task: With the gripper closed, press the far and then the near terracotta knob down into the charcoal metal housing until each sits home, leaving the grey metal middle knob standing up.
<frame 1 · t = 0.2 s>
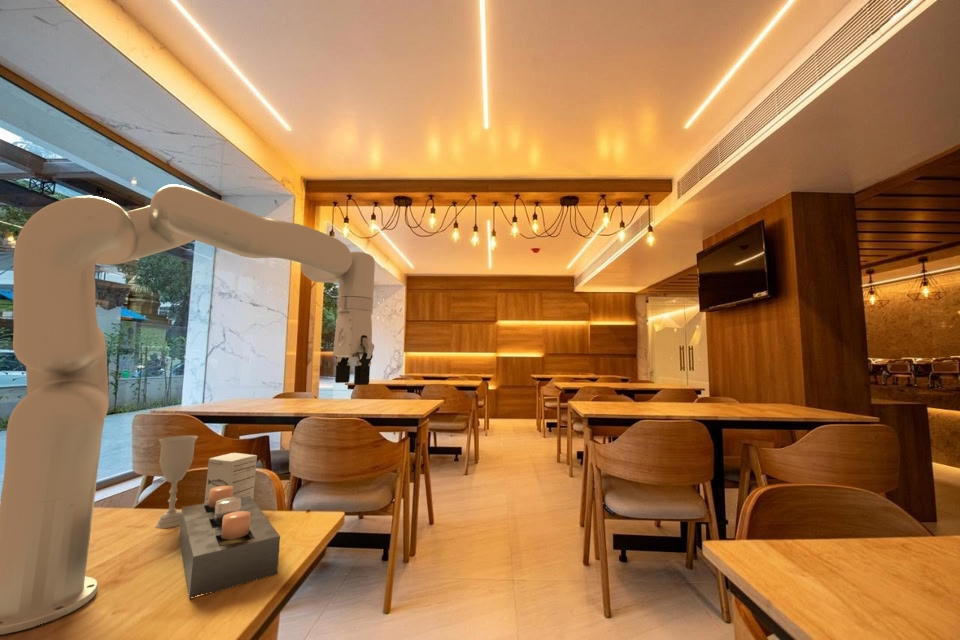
hand: (351, 383, 88), 31 cm above the table, tool pointing down, fingers open, 9 cm apart
far knob: (221, 496, 81), point 8 cm above the table, slide at 0.0 cm
knob housing: (223, 554, 73), on the table
chalice: (170, 524, 86), on the table
supplement box: (228, 512, 94), on the table
middle knob: (227, 509, 74), point 8 cm above the table, slide at 0.0 cm
near knob: (236, 524, 67), point 8 cm above the table, slide at 0.0 cm
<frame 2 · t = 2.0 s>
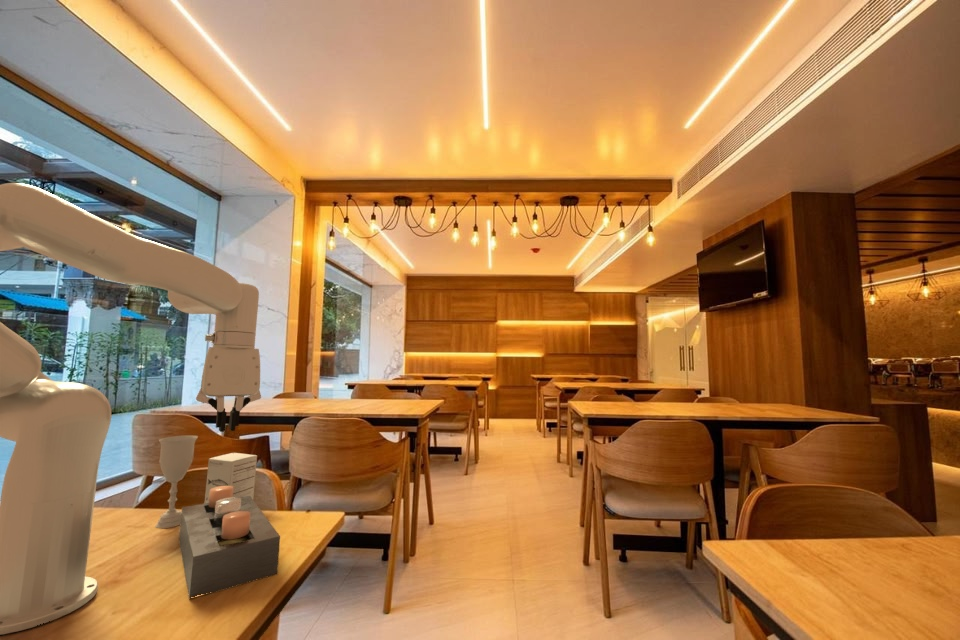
hand: (226, 430, 82), 21 cm above the table, tool pointing down, fingers closed
nothing on the table moved.
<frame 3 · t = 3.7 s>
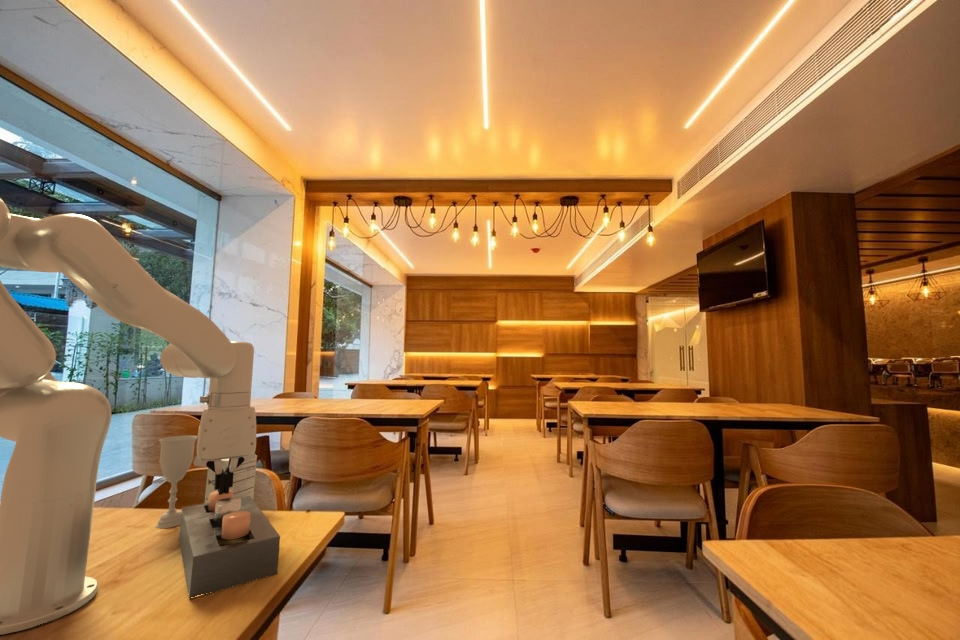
hand: (223, 492, 81), 9 cm above the table, tool pointing down, fingers closed
far knob: (220, 500, 81), point 7 cm above the table, slide at 0.8 cm, touching gripper
everything else where it was.
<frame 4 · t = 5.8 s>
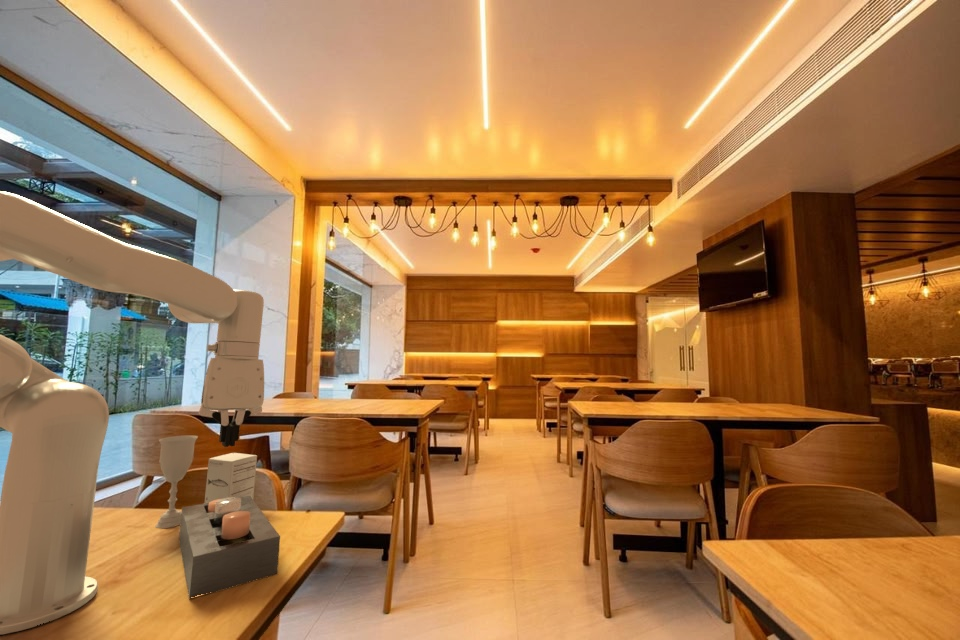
hand: (228, 445, 78), 19 cm above the table, tool pointing down, fingers closed
far knob: (219, 509, 80), point 5 cm above the table, slide at 2.6 cm
everything else where it was.
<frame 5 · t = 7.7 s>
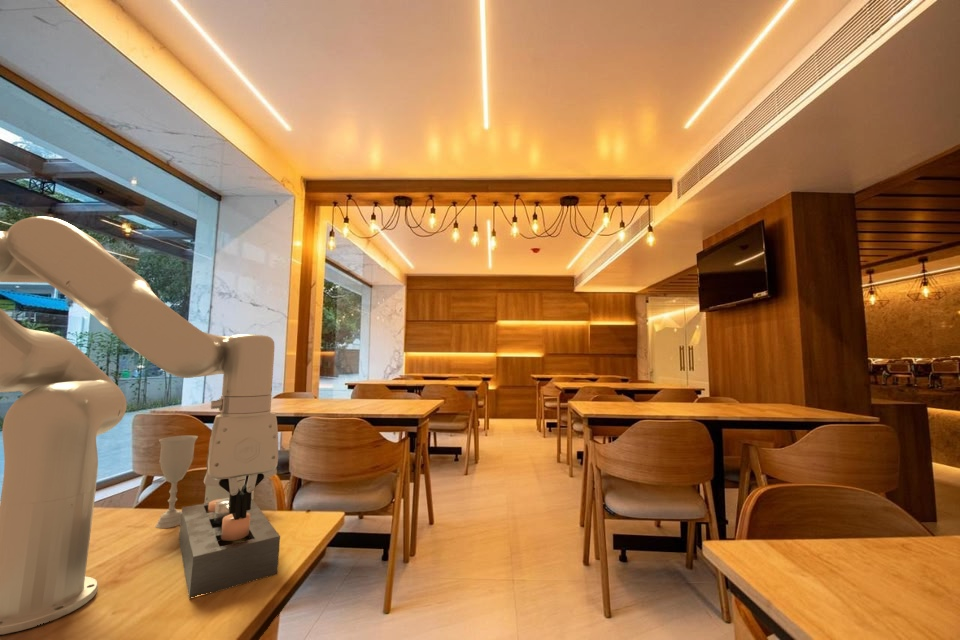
hand: (239, 516, 67), 9 cm above the table, tool pointing down, fingers closed
near knob: (236, 526, 67), point 8 cm above the table, slide at 0.2 cm, touching gripper
everything else where it was.
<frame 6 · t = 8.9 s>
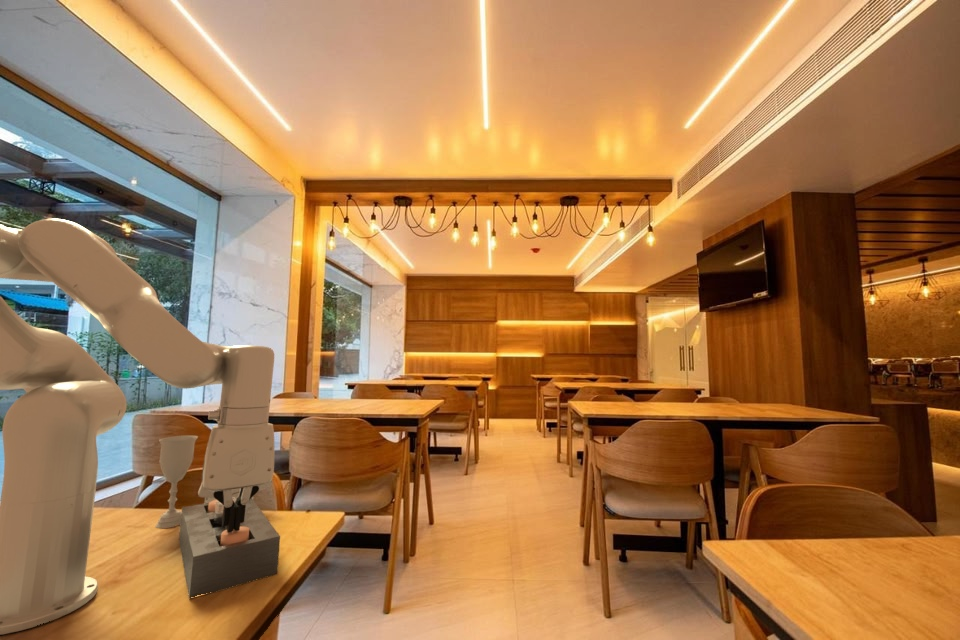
hand: (232, 528, 67), 7 cm above the table, tool pointing down, fingers closed
near knob: (234, 540, 67), point 5 cm above the table, slide at 2.6 cm
everything else where it was.
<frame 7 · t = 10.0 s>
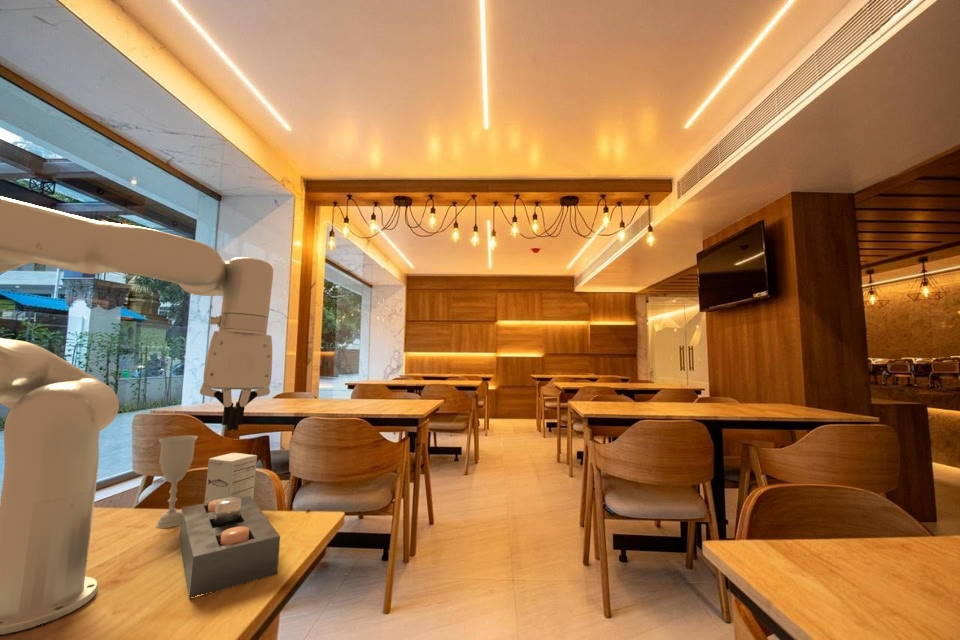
hand: (231, 429, 70), 23 cm above the table, tool pointing down, fingers closed
nothing on the table moved.
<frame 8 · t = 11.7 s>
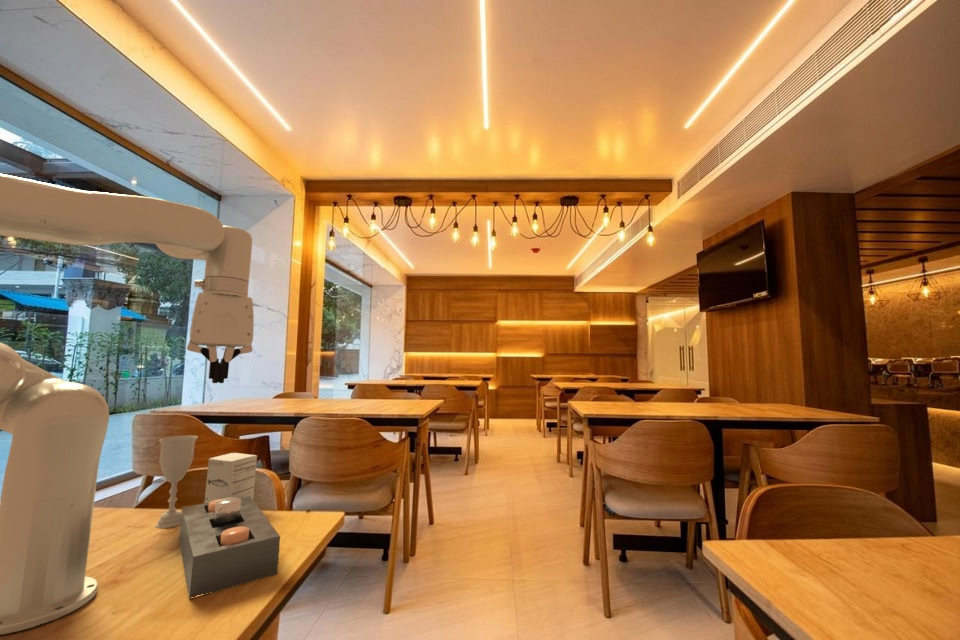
hand: (217, 382, 77), 31 cm above the table, tool pointing down, fingers closed
nothing on the table moved.
at the end: far knob slide at 2.6 cm; near knob slide at 2.6 cm; middle knob slide at 0.0 cm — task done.
